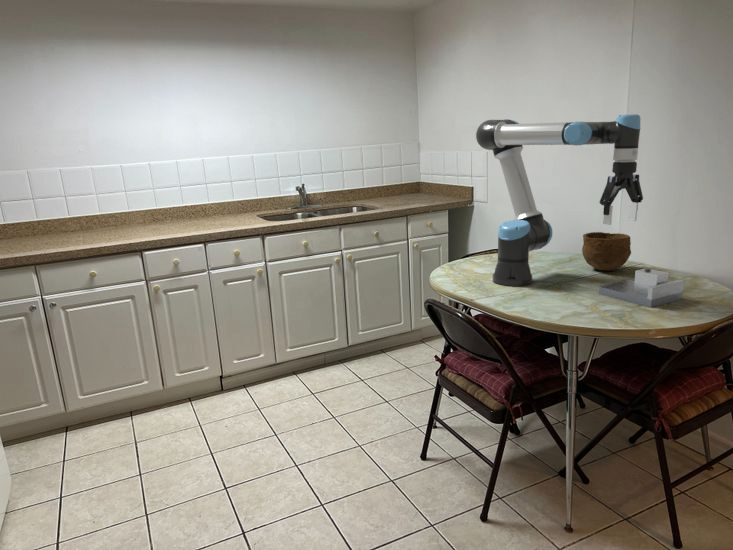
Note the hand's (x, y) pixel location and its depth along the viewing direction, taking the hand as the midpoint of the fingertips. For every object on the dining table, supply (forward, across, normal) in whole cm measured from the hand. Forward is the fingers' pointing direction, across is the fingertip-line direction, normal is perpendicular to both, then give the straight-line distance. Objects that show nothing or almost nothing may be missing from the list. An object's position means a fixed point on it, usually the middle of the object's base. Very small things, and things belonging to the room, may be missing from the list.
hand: (619, 222), depth 192 cm
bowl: (+25, +23, +22) cm, 40 cm away
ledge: (+25, 0, -10) cm, 27 cm away
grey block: (+22, 0, -14) cm, 26 cm away
